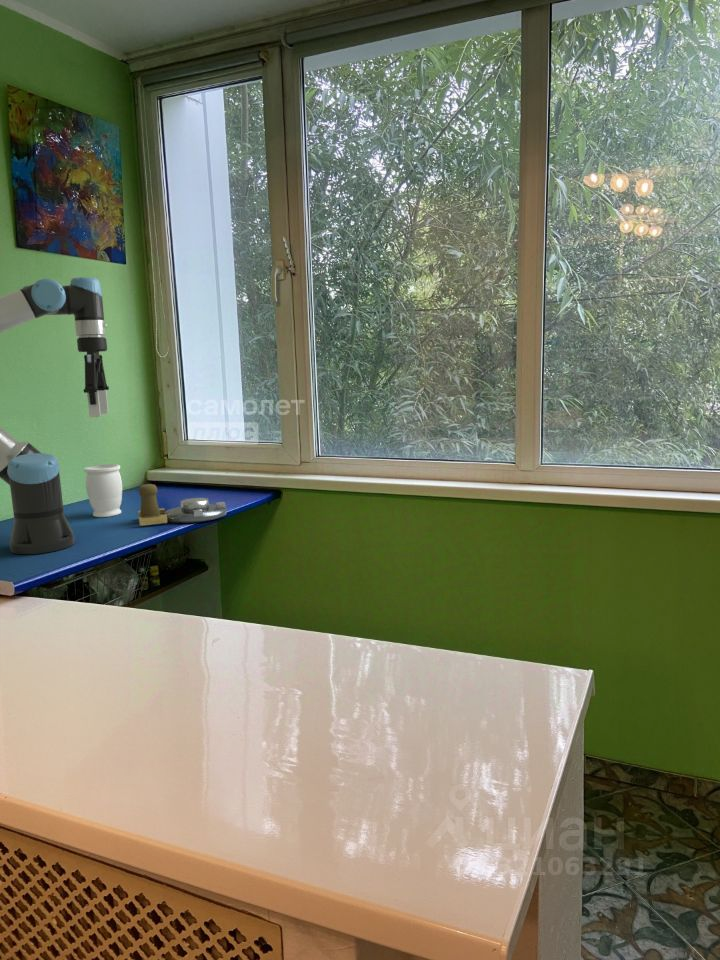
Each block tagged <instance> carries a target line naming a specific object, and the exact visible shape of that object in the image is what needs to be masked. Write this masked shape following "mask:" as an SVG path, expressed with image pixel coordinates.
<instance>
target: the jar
mask: <svg viewBox="0 0 720 960" xmlns="http://www.w3.org/2000/svg"><path fill="white" fill-rule="evenodd" d="M120 469H121V465H120V464H113V463H112V464H111V463H107V464H97V465H91V466H86V467H84V469H83V470H84V472H85V473H86V476H85V477H86V478H85V489H86V493H87V494H86V495H87V496H88V500H89V504H90V506H91V508H92V509H93V513H92V516H93V517H94V518H108V517H114V516H118V515H120V514H122V510H121V509H120V507H121V504H122V501H123V481H122V477H121V473H120Z"/></svg>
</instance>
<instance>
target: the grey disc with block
mask: <svg viewBox="0 0 720 960" xmlns="http://www.w3.org/2000/svg"><path fill="white" fill-rule="evenodd" d="M159 511H160V515H157V516H148V517H140V513H141V510H138V511H137V512H138V523H139V526H148V525H149V526H151V525H161V524H168V522H171V523H180V524H181V523H182V524H184V523H185V524H187V523H188V524H189V523H190V524H191V523H199V522H207V521H212V520H213V521H214V520H216V519H221V518H222V517H225V516H226V515H227V506H226V502H225V501H218V502H215V504H213V503H212V504H211V503H210V502H209V498H205V497H191V498H185V499H183V500H180V506H178V507H177V506H176V507H172V508H170V509H169V508H168V509H167V510H166V509H165V508H163V507H162V508H159Z"/></svg>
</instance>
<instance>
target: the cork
mask: <svg viewBox="0 0 720 960" xmlns="http://www.w3.org/2000/svg"><path fill="white" fill-rule="evenodd" d="M137 491H138V494H139V495H140V511H141V513H140V517H148V516H157V515H160V511H159V509H160V507H159V504H158V498H157V494H158V487H157V486H156V484H152V483H146V484H142V485H140V486H139V487H138V490H137Z"/></svg>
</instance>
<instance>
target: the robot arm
mask: <svg viewBox="0 0 720 960" xmlns="http://www.w3.org/2000/svg"><path fill="white" fill-rule="evenodd" d="M102 293H103V292H102V287H101V281H99V279H97V278H95V277H89V276H88V277H87V276H86V277H85V276H84V277H82V276H81V277H73V278H71V279H70V283H69V285H62V284H60V283H59V282H58V281H57V280H54V279H51V278H42V279H39V280H36V281H35V283H33V284H30V285H25V286H23V287H22V288H21V289H18V290H14V291H12V292H9V293H7V294H5V295H2V296H1V295H0V334H1V333H4V332H7V331H8V330H11V329H13V328H16V327H18V326H22V325H23V324H26V323H28V322H30V321H34V320H35V319H38V318H40V317H43V316H58V315H59V316H62V315H64V316H65V315H68V316H69V315H70V316H71V315H74V327H75V328H74V329H75V336H76V337H77V339H76V344H77V351H78V352H79V353H86V354H84V356H83V359H84V360H83V361H84V389H83V393H85V394H87V395H86V397H87V403H88V414H89V416H88V417H89V418H101V416H102V415H101V414H109V406H108V404H109V403H108V395H107V391H108V390H109V389H110V387H109V386H108V384H107V380H106V373H105V369H104V367H105V366H104V362H103V355H102V354H100V352H106V351H108V343H107V338H106V337H104V336H106V329H105V328H107V327H108V324H107V323H105V316H104V315H105V313H104V304H103V303H104V301H103V294H102ZM58 461H59V460H58V458H57V457H56V456H55V455H53V454H49V453H45V452H43V453H42V452H41V451H39V450H38V449H37V447H35V446H34V445H33V444H31V443H30V442H28V441H19V440H17V439H16V438H14V437H13V436H12V435H11V434H10V433H9V432H7V431H6V430H5V429H4V428H2V426H0V479H1V480H3V481H4V482H5V483H6V484H8V485H9V487H10V488H9V489H10V495H11V496H10V497H11V503H12V505H11V506H12V511H13V512H12V513H13V526H12V531H11V534H10V535H11V536H10V539H9V550H10V552H11V553H13V554H18V555H36V554H37V555H39V554H45V553H50V552H51V553H52V552H57V551H61V550H64V549H66V548H69V547H72V546H73V545H74V544H75V541H76V540H75V533H74V532H73V529H72V528H71V526H70V523H69V521H68V520H67V517H66V516H65V511H64V503H63V494H62V483H61V476H60V469H61V467H60V464H59V462H58Z"/></svg>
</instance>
